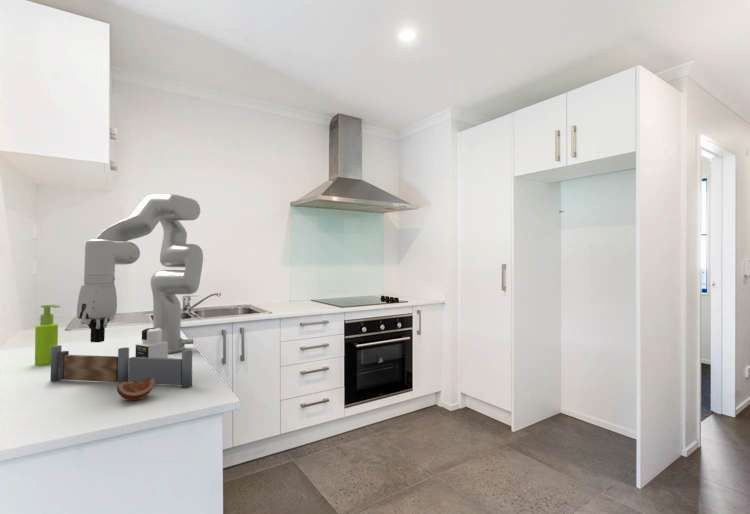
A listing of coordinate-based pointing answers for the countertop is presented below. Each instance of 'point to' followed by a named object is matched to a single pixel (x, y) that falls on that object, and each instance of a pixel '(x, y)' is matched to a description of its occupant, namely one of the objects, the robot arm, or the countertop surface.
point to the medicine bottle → (152, 344)
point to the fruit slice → (135, 388)
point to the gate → (87, 367)
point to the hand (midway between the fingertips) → (97, 341)
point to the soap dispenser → (45, 337)
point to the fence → (143, 368)
